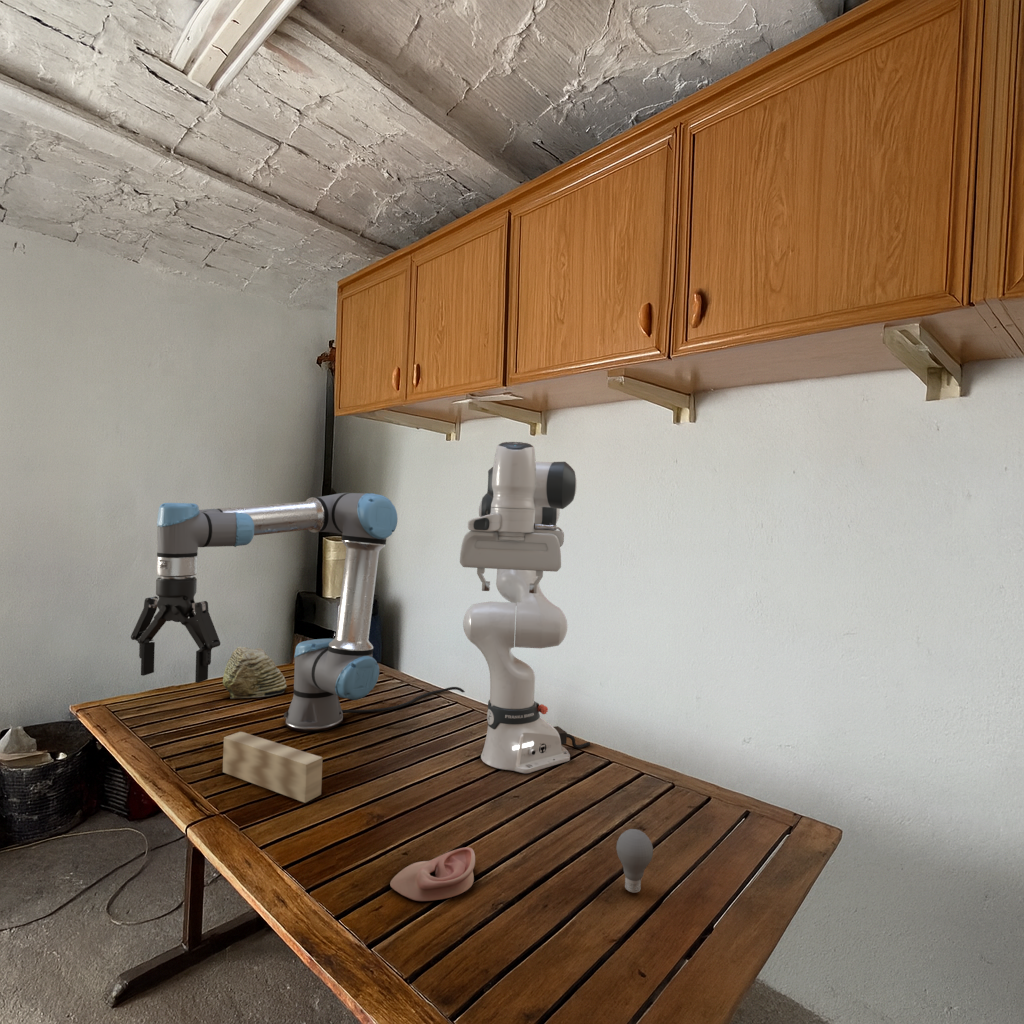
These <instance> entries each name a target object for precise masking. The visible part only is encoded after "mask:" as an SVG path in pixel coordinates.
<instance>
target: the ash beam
mask: <svg viewBox="0 0 1024 1024" xmlns="http://www.w3.org/2000/svg"><path fill="white" fill-rule="evenodd" d="M222 750H223V751H222V773H224V774H226V775H229V776H232V777H234V778H237V779H240V780H243V781H245V782H248V783H251V784H253V785H255V786H258V787H261V788H264V789H267V790H270V791H272V792H275V793H277V794H280V795H283V796H286V797H288V798H291V799H294V800H297V801H298V802H301V803H303V804H304V803H305V804H306V803H308V802H309V801H312V800H314V799H315V798H318V797H320V796H321V795H322V787H323V786H322V785H323V757H322V756H320V755H317V754H314V753H310V752H307V751H304V750H300V749H298V748H294V747H291V746H288V745H284V744H282V743H279V742H276V741H273V740H270V739H267V738H263V737H260V736H257V735H253V734H250V733H248V732H245V731H238V732H235V733H232V734H229V735H226V736H224V737H223V749H222Z"/></svg>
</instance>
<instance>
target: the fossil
mask: <svg viewBox="0 0 1024 1024" xmlns="http://www.w3.org/2000/svg"><path fill="white" fill-rule="evenodd" d="M222 676H223V677H222V685H223V687H224V688H225V690H226V691H228V693H229V698H230V699H250V698H264V697H271V696H275V695H281V694H284V693H285V691H286V689H287V687H288V686H287V680H286V678H285V676H284V674H283V673H282V672H281V669H279V668H278V667H277V665H276V663H275V662H274V660H273V659H272V658H271V657H270V656H269V655H268V654H267V653H266V652H265V650H264V649H263V648H260V647H258V648H251V647H247V646H246V647H245V646H238V647H237V648H236V649H235V650H233V651H232V653H231V656H230V657H229V659H228V660H227V663H226V666H225V668H224V671H223V675H222Z"/></svg>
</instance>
